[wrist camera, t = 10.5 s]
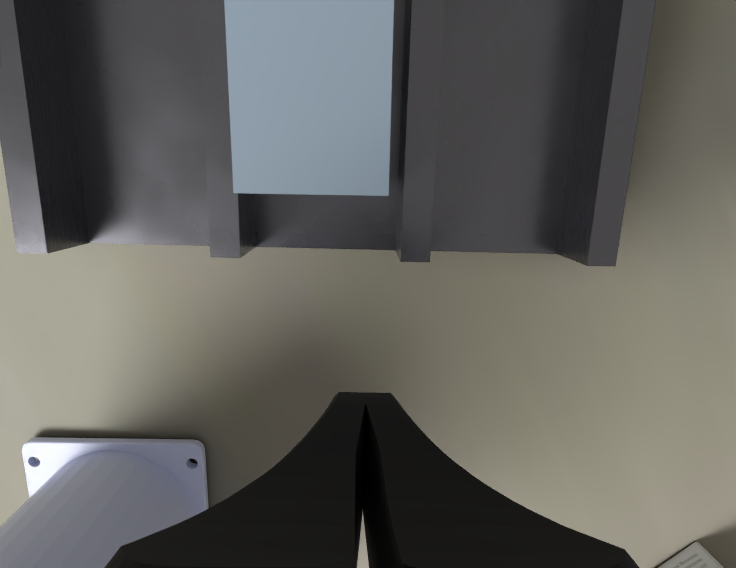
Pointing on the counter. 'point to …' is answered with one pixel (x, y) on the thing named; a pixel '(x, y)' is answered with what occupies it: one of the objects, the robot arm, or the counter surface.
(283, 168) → the rectangular block
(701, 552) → the skincare box
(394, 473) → the robot arm
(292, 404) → the counter surface
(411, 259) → the rack
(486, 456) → the counter surface
